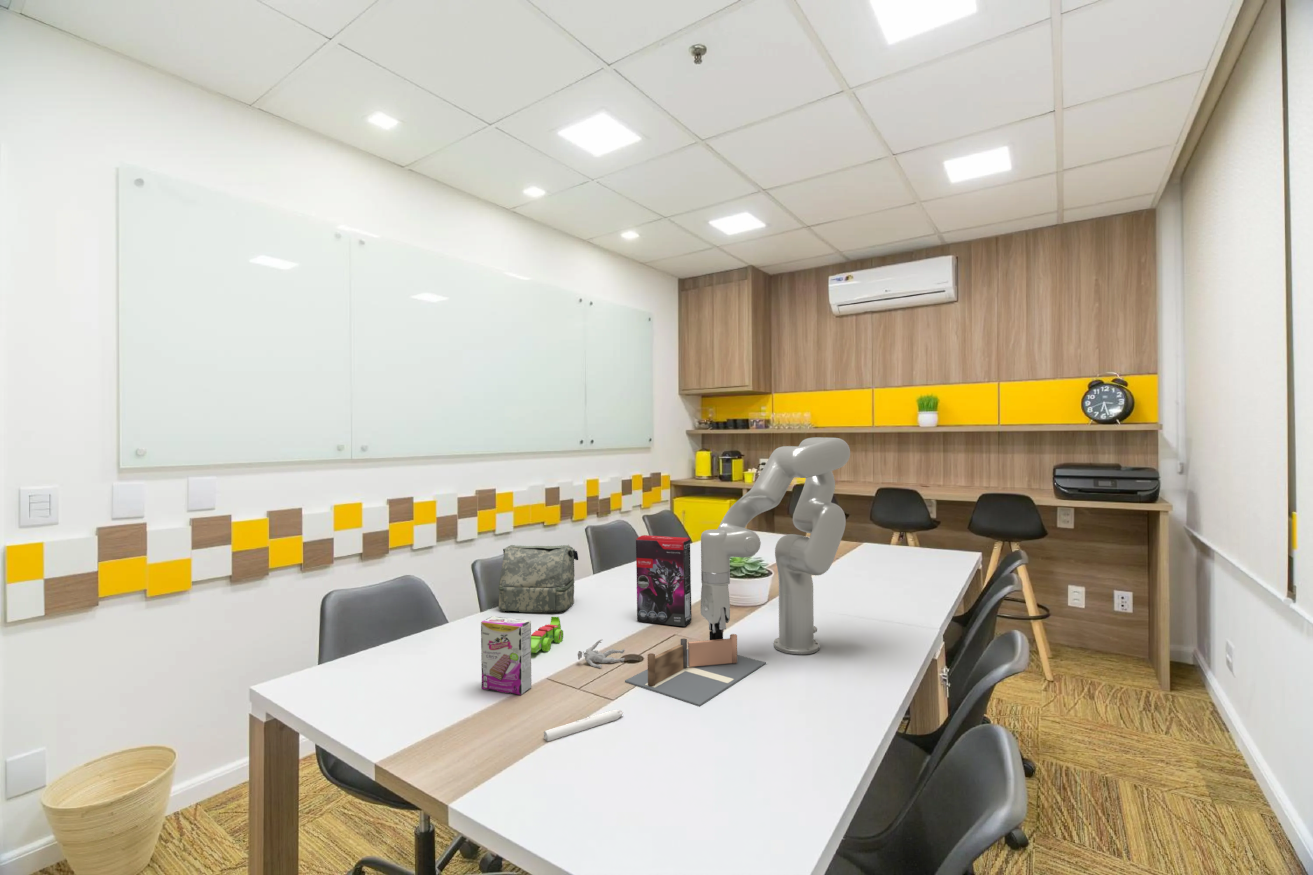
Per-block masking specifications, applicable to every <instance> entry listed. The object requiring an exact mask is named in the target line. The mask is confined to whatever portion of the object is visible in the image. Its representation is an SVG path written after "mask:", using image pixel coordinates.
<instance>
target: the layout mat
mask: <svg viewBox="0 0 1313 875" xmlns="http://www.w3.org/2000/svg"><path fill="white" fill-rule="evenodd" d="M765 665H767V662H766V661H763V660H759V659H756V658H751V657H747V656H743V655H739V654H737V663H726V664H715V665H704V666H693V667H689V665H688V648H687V668H686V669H683V670H681V671H679V672H677V673H675V674H673V675H671V676H669V677H668V678H666V679H664V680H662V681H660V682H658V683H656V684H655V686H648V668H646V669H645V670H643V671H641V672H638V673H637V674H634V675H633V676H631V677H629V678H627V679H624V683H627V684H629V685H633V686H636V687H639V688H642V689H646V690H648V691H651V692H655V693H658V694H661V695H663V696H667V697H670V698H673V699H675V700H678V701H681V702H684V703H687V704H690V705H694V706H697V707H701V706H703V705H704V704H706V703H707V702H708V701H710V700H712V699H713V698H715V697H717V696H719V694H721V693H723V692H724V691H726V690H727V689H729V688H730V687H732V686H734V685H735V684H736V683H739V682H740V681H742V680H743V679H745V678H746V677H747V676H750V675H751V674H752V673H754V672H756V671H757V670H758V669H760V668H762V667H764V666H765Z"/></svg>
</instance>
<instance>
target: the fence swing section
mask: <svg viewBox="0 0 1313 875" xmlns="http://www.w3.org/2000/svg"><path fill="white" fill-rule="evenodd" d="M687 649H688V665H689V667H693V666H704V665H715V664H726V663H737V655H738V635H737V634H735V633H731V634H729V638H723V639H717V640H710V639H707V640H697V641H696V640H694V641H687Z"/></svg>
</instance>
